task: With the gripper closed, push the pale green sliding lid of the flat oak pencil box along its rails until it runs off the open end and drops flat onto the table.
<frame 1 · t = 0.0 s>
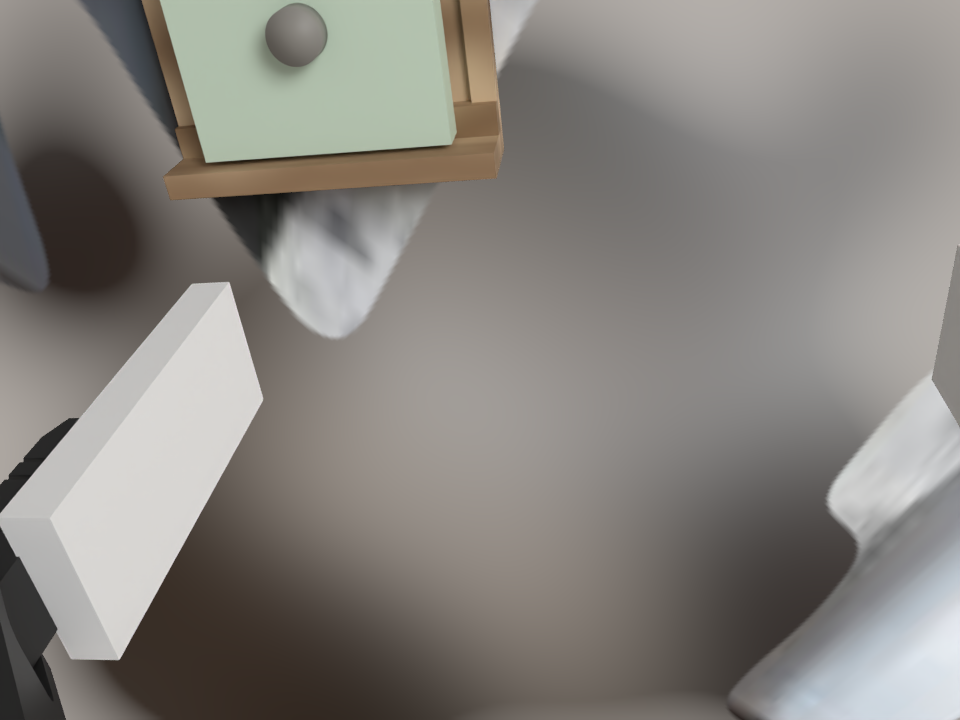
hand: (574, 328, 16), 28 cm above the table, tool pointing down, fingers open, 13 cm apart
oak box: (320, 16, 41), on the table
cover plate: (311, 23, 40), point 1 cm above the table, touching oak box
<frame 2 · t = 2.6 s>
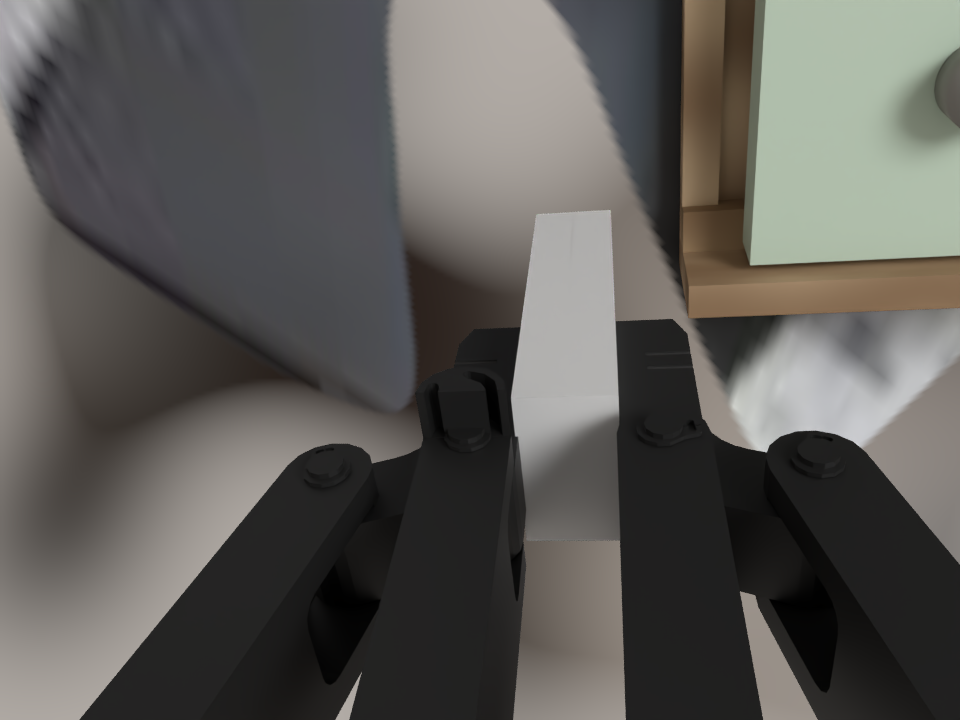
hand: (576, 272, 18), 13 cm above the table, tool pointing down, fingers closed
oak box: (942, 51, 27), on the table
cover plate: (958, 63, 26), point 1 cm above the table, touching oak box
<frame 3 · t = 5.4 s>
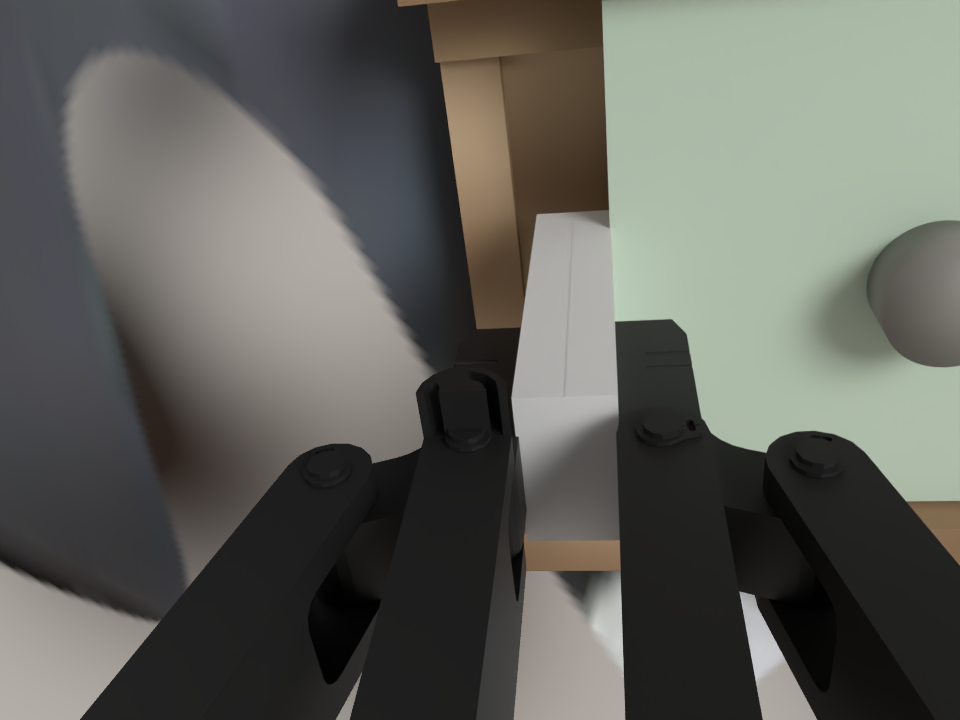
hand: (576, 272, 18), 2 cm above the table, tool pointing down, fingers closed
oak box: (826, 210, 19), on the table
cover plate: (905, 239, 18), point 2 cm above the table, touching gripper
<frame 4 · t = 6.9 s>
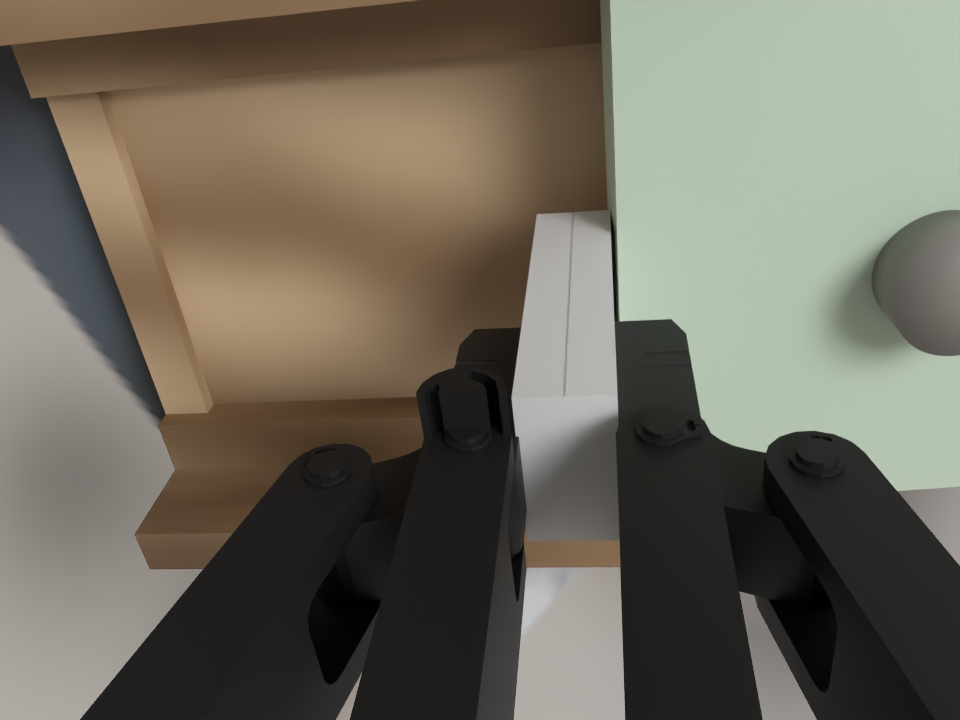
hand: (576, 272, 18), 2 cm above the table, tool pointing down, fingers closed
oak box: (441, 231, 21), on the table
cover plate: (900, 230, 18), point 1 cm above the table, tilted 5°, touching gripper, oak box
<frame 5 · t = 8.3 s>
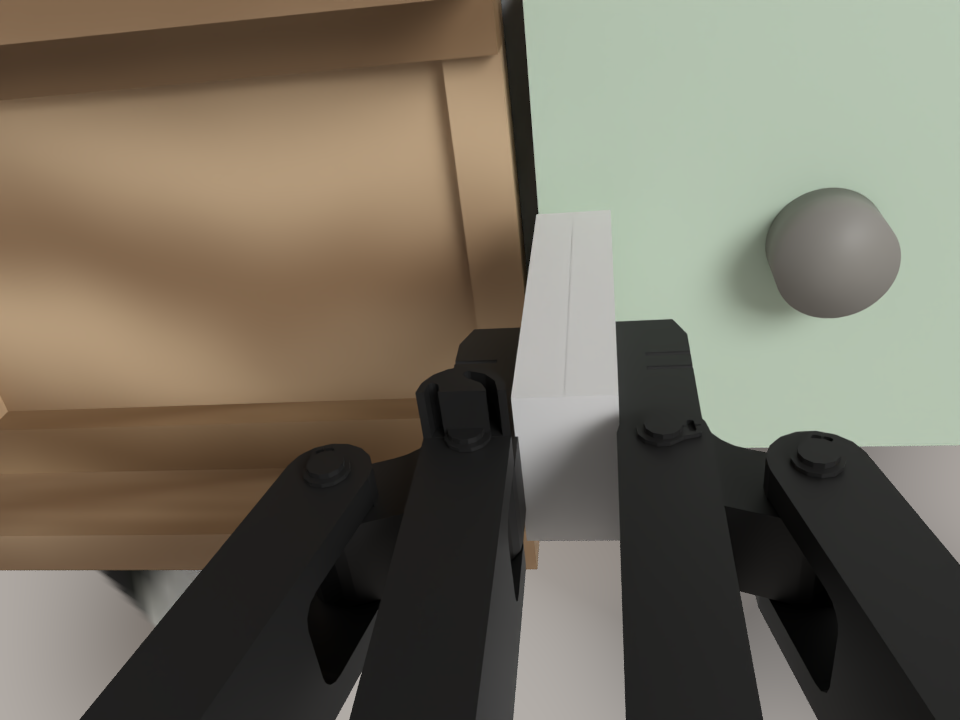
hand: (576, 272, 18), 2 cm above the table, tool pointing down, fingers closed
oak box: (201, 247, 22), on the table
cover plate: (807, 208, 20), on the table
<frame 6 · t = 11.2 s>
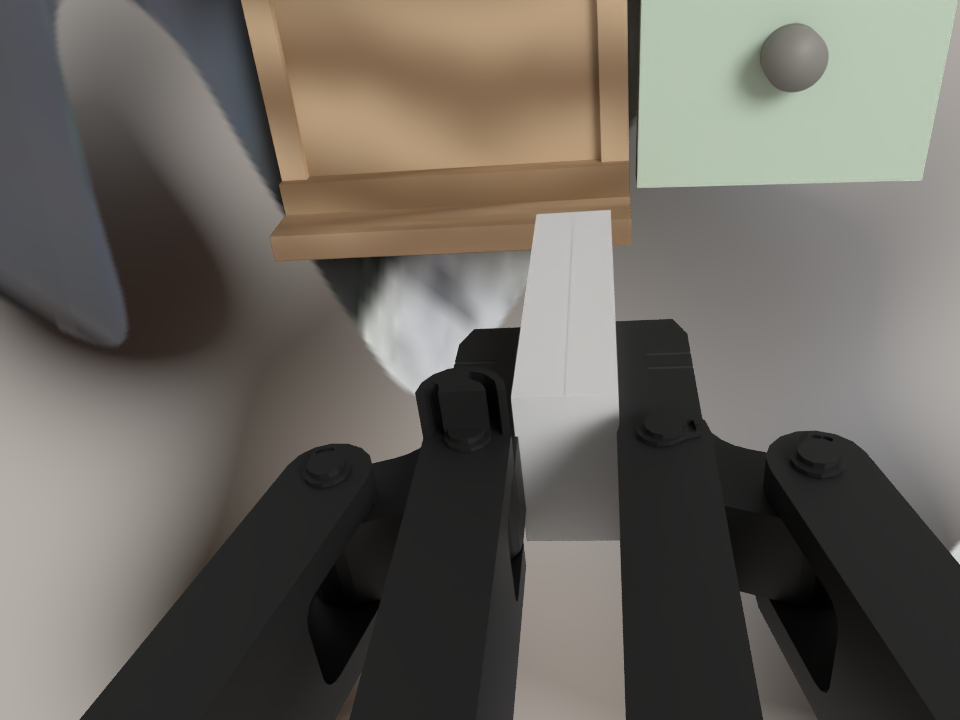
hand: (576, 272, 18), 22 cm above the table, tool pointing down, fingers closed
oak box: (442, 68, 38), on the table
cover plate: (782, 44, 37), on the table
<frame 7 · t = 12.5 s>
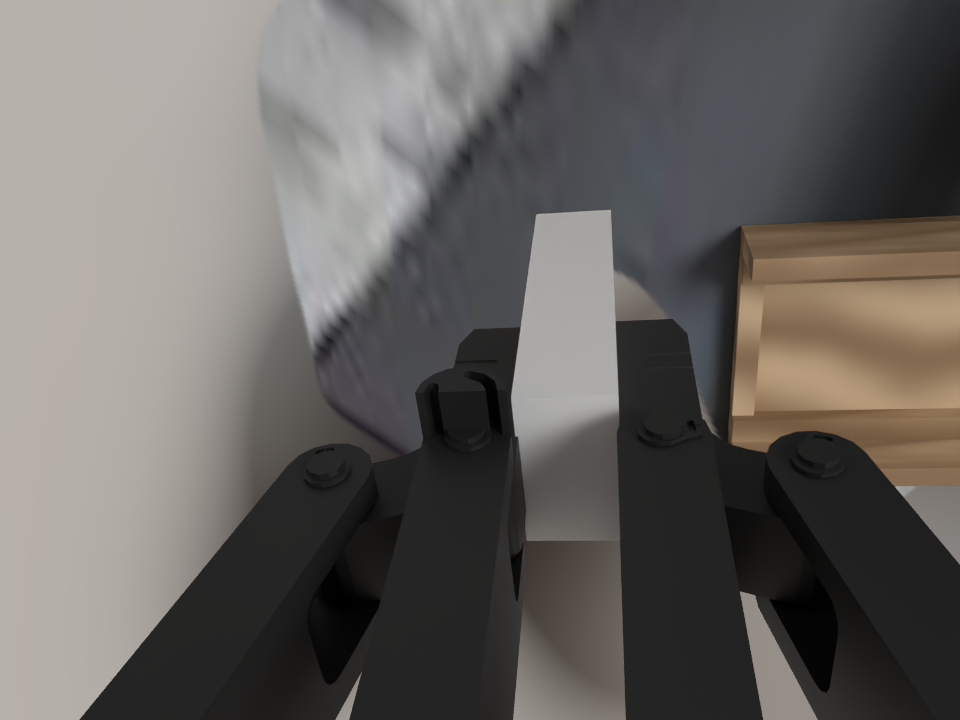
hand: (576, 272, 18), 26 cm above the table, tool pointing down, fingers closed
oak box: (886, 338, 47), on the table
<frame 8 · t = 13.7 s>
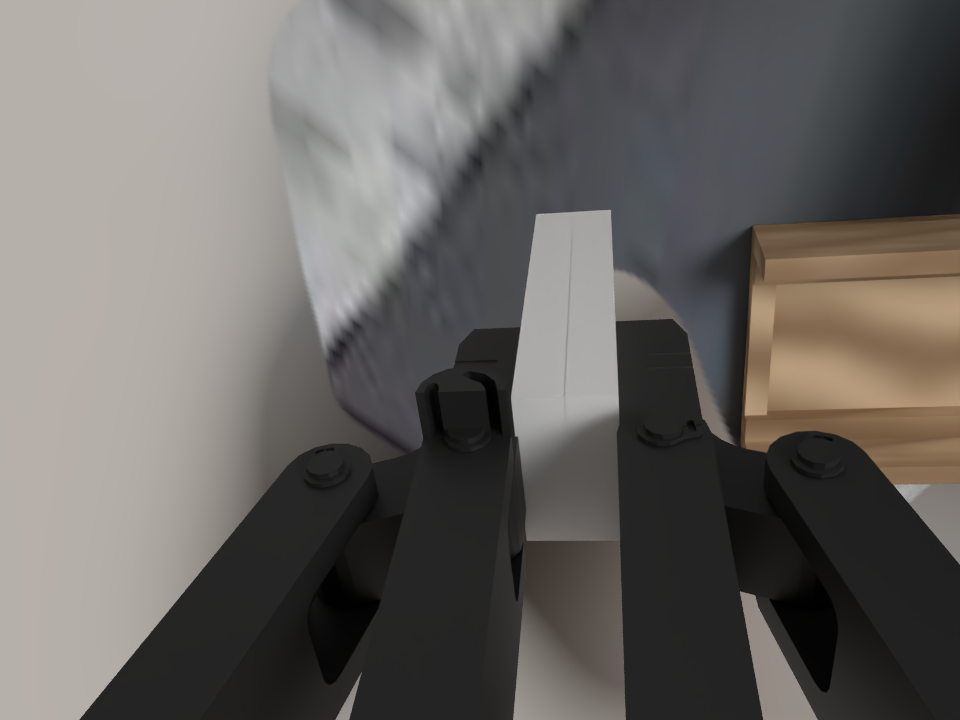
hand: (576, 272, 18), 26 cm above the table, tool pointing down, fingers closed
oak box: (898, 336, 47), on the table
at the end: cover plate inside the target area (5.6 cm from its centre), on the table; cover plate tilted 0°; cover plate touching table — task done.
